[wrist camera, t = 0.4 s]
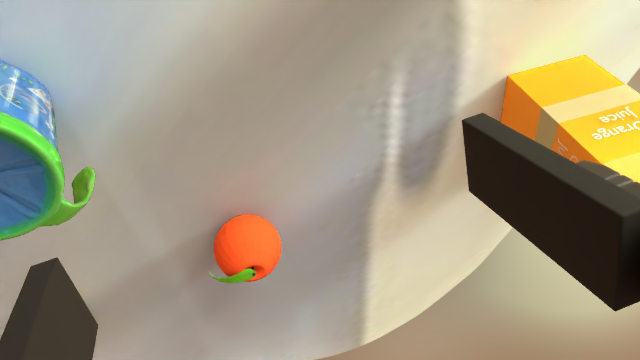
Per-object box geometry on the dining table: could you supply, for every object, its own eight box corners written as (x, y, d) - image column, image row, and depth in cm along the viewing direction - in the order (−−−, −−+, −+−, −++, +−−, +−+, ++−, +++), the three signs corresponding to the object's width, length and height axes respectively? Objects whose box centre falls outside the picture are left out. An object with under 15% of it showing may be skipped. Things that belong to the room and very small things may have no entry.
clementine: (219, 258, 57) (227, 310, 52) (189, 221, 52) (195, 275, 47) (283, 230, 57) (297, 279, 52) (259, 191, 52) (273, 241, 47)
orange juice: (569, 114, 57) (715, 244, 43) (497, 134, 56) (621, 274, 42) (586, 52, 52) (759, 178, 37) (507, 74, 51) (653, 211, 36)
